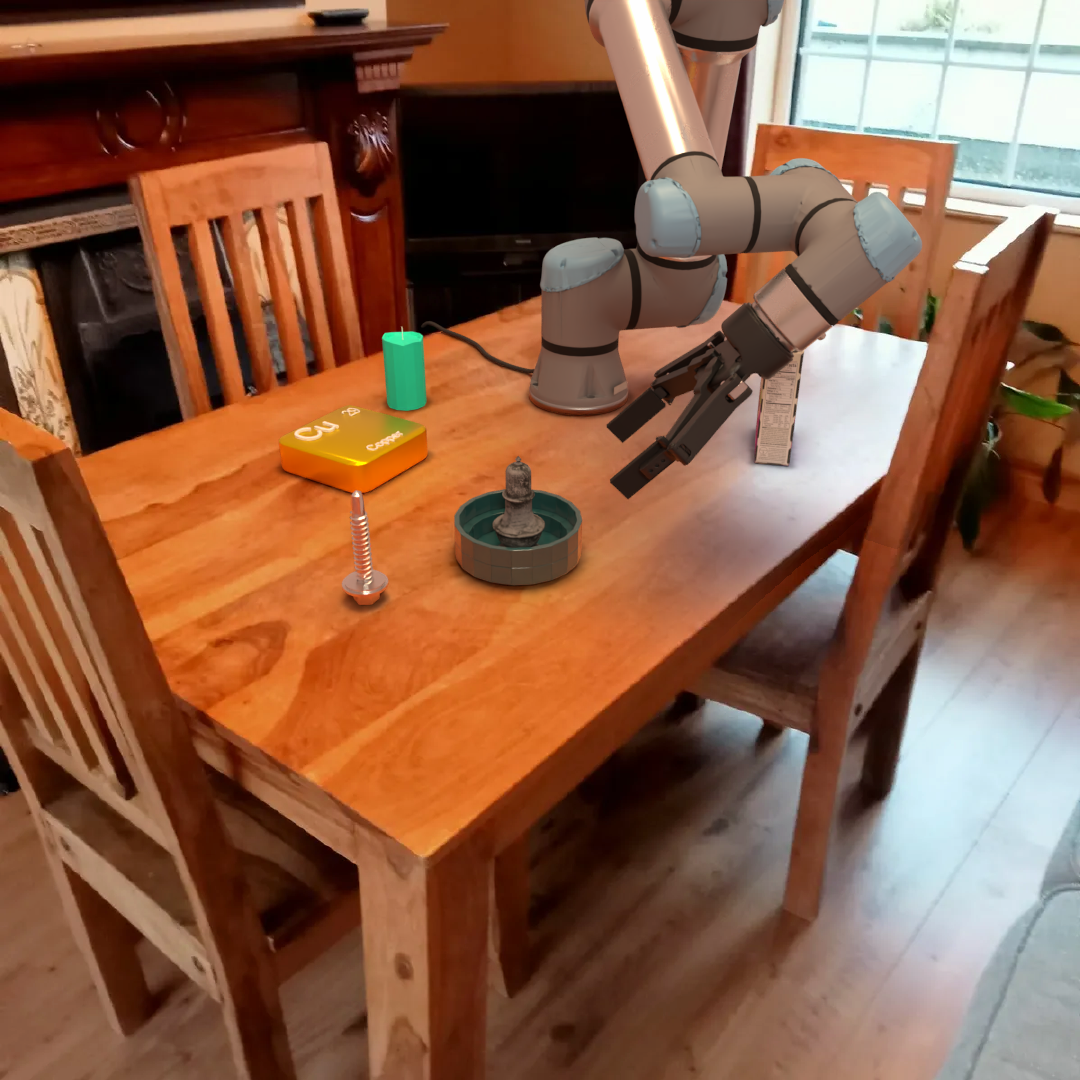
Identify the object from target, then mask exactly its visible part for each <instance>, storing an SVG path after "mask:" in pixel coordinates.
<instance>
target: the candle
mask: <svg viewBox="0 0 1080 1080" xmlns="http://www.w3.org/2000/svg"><path fill="white" fill-rule="evenodd" d="M400 327H401V331H391V332H384V334H383V335H382V337H381V340H382V341H381V342H382V343H381V344H382V354H383V355H382V356H383V367H384V379H385V380H384V381H385V395H386V403H387V404H386V405H387V406H388V408H390V409H392V410H396V411H403V412H404V411H405V412H407V411H414V410H415V411H416V410H419V409H422V408H423V407H425V406H426V404H427V401H428V400H427V399H428V398H427V385H426V384H427V381H426V380H427V379H426V363H425V347H424V346H425V345H424V344H425V343H424V335H423V334H422V333H420V332H416V331H404V328H403V326H400Z"/></svg>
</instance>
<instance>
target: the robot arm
mask: <svg viewBox="0 0 1080 1080" xmlns="http://www.w3.org/2000/svg"><path fill="white" fill-rule="evenodd" d="M784 2H785V0H584V10H585V11H584V12H585V16H586V21H587V23H588V26H589V29H590V32H591V35H592V37H593V39H594V40H595V41H596V42H597V43H598V44H599V45H600V46H602V47H603V48H605V51H606V55H607V58H608V60H609V64H610V67H611V70H612V71H611V72H612V74H613V76H614V80H615V84H616V87H617V90H618V93H619V96H620V99H621V103H622V106H623V109H624V113H625V116H626V119H627V123H628V125H629V129H630V132H631V135H632V138H633V139H632V140H633V142H634V146H635V148H636V151H637V155H638V158H639V161H640V164H641V167H642V171H643V174H644V177H645V182H644V183H643V184H641V186H640V187H639V189H638V191H637V193H636V198H635V205H634V224H635V236H636V239H637V241H636V247H635V248H626V249H624V246H623V244H622V243H621V241H619V240H618V239H615V238H611V237H599V238H598V237H586V238H577V239H574V240H569V241H566V242H563V243H560V244H558V245H556V246H555V247H552V248H551V249H549V250H548V251H547V252H546V254H545V255H544V257H543V259H542V265H541V266H542V267H541V278H540V283H539V287H540V289H541V304H540V305H541V306H540V307H541V313H540V314H541V320H540V321H541V323H540V324H541V326H540V327H541V328H540V330H541V332H540V333H541V335H540V336H541V344H540V351H539V354H538V357H537V360H536V363H535V367H534V368H526V367H521V366H518V365H516V364H515V365H514V364H512V363H508V362H506V361H504V360H501V359H499V358H498V357H495V356H493V355H492V354H490V353H488V352H487V351H486V350H485V349H484V348H483V347H482V345H480V344H479V343H478V342H477V341H476V340H473V339H472V338H470V337H468V336H465V335H463V334H461V333H458V332H456V331H453V330H450V329H447V328H445V327H443V326H442V325H439V324H438V323H436V322H434V321H431V320H429V321H425V322H423V323H422V324H421V326H420V327H421V328H423V329H425V328H426V327H427V326H431V327H433V328H435V329H437V330H439V332H442V333H444V334H447V335H449V336H452V337H455V338H457V339H460V340H463V341H464V342H467V343H468V344H471V345H472V346H474V347H475V348H476V349H477V350H478V351H479V352H480V353H481V354H482V355H483V356H484V357H485V358H487V359H488V360H490V361H492V362H494V363H495V364H498V365H500V366H503V367H505V368H507V369H510V370H514V371H517V372H522V373H524V374H532V375H531V378H530V381H529V387H528V388H529V389H528V391H529V392H528V395H529V400H530V402H531V403H532V404H533V405H535V406H536V407H538V408H540V409H542V410H545V411H547V412H551V413H555V414H559V415H566V416H595V415H601V414H606V413H610V412H613V411H616V410H618V409H620V408H621V407H623V406H624V405H625V404H626V403H627V401H628V400H629V382H628V379H627V377H626V374H625V369H624V365H623V361H622V359H621V355H620V352H619V343H620V342H619V340H620V339H619V337H620V332H621V331H632V330H633V331H634V330H648V329H662V328H677V329H683V328H687V327H690V326H697V325H698V326H699V325H703V324H706V323H707V322H709V321H711V320H712V319H713V318H714V317H715V316H716V315H717V313H718V311H720V308H721V306H722V303H723V301H724V298H725V294H726V291H727V283H728V278H727V277H726V275H727V272H728V266H727V259H726V256H725V255H733V254H735V255H736V254H740V255H741V254H756V253H757V254H762V253H763V254H764V253H779V252H780V253H781V252H793V253H794V254H795V255H796V256H797V257H796V258H795V259H794V260H793V261H792V262H791V263H789V264H787V265H786V266H785V267H784V268H782V269H781V270H780V271H779V272H777V273H776V274H775V275H773V277H772V278H771V279H769V280H768V281H767V282H766V283H764V285H762V286H761V287H760V288H759V289H758V290H757V291H756V292H754V293H753V300H754V301H753V302H752V303H751V302H744V303H743V304H741V305H740V306H739V307H738V308H736V310H735V311H733V312H732V313H731V314H730V315H729V316H728V317H726V318H725V319H724V320H723V321H722V323H721V326H720V327H721V330H717V331H716V332H715V333H713V334H712V335H711V336H710V337H709V338H707V339H705V341H703V342H702V343H700V344H698V345H697V346H695V347H693V348H692V349H690V350H688V351H686V353H683V354H682V355H680V356H679V357H677V358H675V359H673V360H672V361H671V362H669V363H667V364H666V365H665V364H664V366H662V367H661V368H659V369H657V370H656V371H655V372H654V374H653V377H654V378H655V379H654V380H652V381H651V384H650V387H648V388H647V389H645V390H644V391H643V392H642V393H641V394H640V395H639V396H637V397H636V398H635V399H634V400H632V401H631V402H630V404H628V405H627V406H626V407H625V408H624V409H623V410H621V411H620V412H619V413H618V414H616V416H614V417H613V418H612V419H611V420H610V421H608V422H607V423H606V424H605V426H606V429H608V430H609V431H610V432H611V433H612V434H613V436H615V438H617V440H619V441H620V442H621V443H622V444H623V443H625V442H626V441H627V440H628V439H629V438H631V437H632V436H633V435H634V434H635V433H636V432H638V431H639V430H640V429H641V428H643V426H644V425H646V424H648V422H649V421H651V420H652V419H653V418H654V417H655V416H656V415H658V414H659V412H662V411H663V409H665V408H666V407H667V405H666V404H668V406H672V404H673V403H674V401H675V399H676V398H677V397H679V396H682V395H685V394H687V393H690V392H692V393H693V396H692V398H691V399H690V401H689V402H688V404H687V405H686V406H685V408H684V410H683V411H681V413H680V415H679V416H678V418H677V419H676V421H675V422H674V424H673V425H672V426H671V428H670V429H669V431H668V432H667V433H666V435H665V436H664V435H658V436H656V437H655V441H654V442H652V443H651V444H650V445H649V446H648V447H646V449H644V450H643V451H642V452H640V453H639V454H637V456H635V458H633V459H632V460H631V461H630V462H628V464H626V465H625V466H624V467H622V468H621V469H620V470H619V471H618V472H617V473H615V474H614V475H613V476H612V477H610V478H609V483H610V484H611V485H612V486H613V488H615V489H616V490H617V491H618V492H619V493H620V494H621V495H622V496H623V497H624V498H625V499H626V500H629V499H631V498H633V496H635V495H636V494H637V493H638V492H639V491H641V490H642V489H644V488H645V486H647V485H648V484H649V483H650V482H651V481H653V480H654V479H655V478H656V477H657V476H659V475H660V474H661V473H662V472H664V471H665V470H666V469H667V468H669V467H670V466H671V465H672V464H674V463H675V462H677V463H678V462H679V463H681V465H683V466H685V467H686V466H688V465H689V464H690V463H691V462H692V461H693V460H694V459H695V457H696V456H698V454H699V453H700V452H701V451H702V449H703V448H704V447H705V446H706V445H707V443H709V441H710V440H711V438H713V436H714V435H715V434H716V433H717V432H718V430H719V429H720V428H722V426H723V424H724V423H725V422H726V421H727V420H728V419H729V417H730V416H731V415H732V414H733V413H734V412H735V411H736V410H737V408H738V407H740V406H741V405H742V404H743V403H745V401H747V399H748V398H750V396H752V394H753V392H754V390H753V389H752V388H751V387H750V386H749V385H748V384H747V383H746V381H747V380H748V379H749V378H750V377H751V376H752V375H753V374H757V375H758V376H759V377H760V379H761V378H763V379H770V378H772V377H773V376H774V375H776V374H777V373H778V372H779V371H780V370H782V369H783V368H784V367H785V366H786V365H788V364H789V363H790V362H791V361H793V357H794V354H793V353H792V352H793V351H794V350H797V351H798V352H803V351H804V352H805V350H806V349H808V348H809V347H810V346H811V345H813V344H814V343H815V342H816V341H822V340H824V339H826V337H827V334H826V333H827V332H828V331H829V330H831V329H832V328H833V327H835V326H836V325H838V324H839V322H841V321H842V320H844V319H845V318H846V317H847V316H848V315H849V314H851V313H852V312H853V311H854V310H855V309H857V308H859V306H861V305H862V304H863V303H864V302H865V301H867V300H868V299H869V298H871V297H872V296H873V295H874V294H876V293H877V292H878V291H879V290H880V289H882V288H883V287H884V286H885V285H886V284H888V283H890V282H892V281H894V280H895V279H896V277H897V275H899V274H900V273H901V272H902V271H903V270H904V269H905V268H907V266H908V265H909V264H910V263H912V262H913V261H914V260H915V259H916V258H917V257H918V256H919V255H920V253H921V251H922V249H923V241H922V237H921V236H920V234H919V233H918V231H917V230H916V228H915V227H914V226H913V224H912V223H911V222H910V221H909V219H908V218H907V217H906V216H905V214H903V212H902V211H901V210H900V209H899V207H897V205H896V204H895V203H894V202H893V201H892V200H891V199H890V198H889V197H888V196H887V195H885V193H882V192H881V191H874V192H871V193H869V195H867V196H866V197H864V198H862V199H861V200H860V201H857V199H855V197H853V195H852V194H851V193H850V192H849V191H848V190H847V189H846V188H845V187H844V185H843V184H842V182H841V181H840V179H839V178H838V177H837V176H836V174H834V173H832V172H831V171H830V170H828V169H826V168H825V167H824V166H822V164H820V163H819V162H818V161H815V160H814V159H811V158H803V157H798V158H794V159H790V160H789V161H787V162H785V163H783V164H781V165H779V166H777V167H775V169H774V170H772V172H771V173H770V174H768V175H753V176H752V175H751V176H749V175H746V176H745V175H744V176H743V175H741V176H724V175H723V172H722V169H723V168H722V167H723V163H724V156H725V152H726V146H727V141H728V135H729V130H730V123H731V119H732V113H733V107H734V102H735V97H736V91H737V86H738V80H739V74H740V68H741V63H742V59H743V58H744V57H745V56H746V55H747V54H749V53H750V52H752V51H753V50H754V49H755V48H756V46H757V43H758V39H759V38H758V37H759V32H760V28H761V27H762V28H765V27H768V26H769V25H772V24H773V23H775V22H776V21H777V20H778V18H779V15H780V14H781V12H782V10H783V6H784Z"/></svg>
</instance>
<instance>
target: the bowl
mask: <svg viewBox="0 0 1080 1080" xmlns="http://www.w3.org/2000/svg"><path fill="white" fill-rule="evenodd" d="M505 489H506V488H503V489H497V490H493V491H488V492H487V491H486V492H484V493H482V494H479V495H476V496H474V497H471V498H470V499H468V500H466V501H465V502H464V503H463V504H461V505H460V506H459V507H458V508H457V510H456V512H455V513H454V516H453V517H454V518H453V520H454V521H453V523H454V528H453V529H454V548H455V559H456V561H457V563H458V564H459V565H460V567H461V569H462V570H464V571H465V572H467V573H468V574H470V576H473V577H474V578H477V579H480V580H483V581H486V582H488V583H491V584H498V585H499V584H500V585H506V586H507V585H508V586H532V585H536V584H542V583H545V582H551V581H553V580H556V579H558V578H560V577H562V576H565V575H567V574H569V572H571V570H573V569H574V568H575V567H576V566H577V565H578V564H579V561H580V559H581V556H582V552H583V551H582V550H583V549H582V546H583V517H582V513H581V510H580V509H579V508H578V507H577V506H576V505H575V504H574V503H573V502H572V501H570V500H568V499H567V498H565V497H563V496H561V495H559V494H556V493H552V492H549V491H545V490H541V489H532V488H531V489H532V490H533V491H534V493H535V496H534V498H533V499H532V512H533V514H535V515H538V516H539V517H541V518H542V519H543V520H544V522H545V527H544V529H543V531H542V534H541V537H540V539H539V541H538V542H537V544H539V546H534V547H521V548H509V547H502V546H499V545H500V544H501V542H500V541H499V539H498V537H497V535H496V531H495V530H494V529H493V522H494V520H495V519H496V518H497V517H499V516H500V515H502V514H504V513H505V498H504V497H503V495H502V493H503V491H504V490H505Z"/></svg>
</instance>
